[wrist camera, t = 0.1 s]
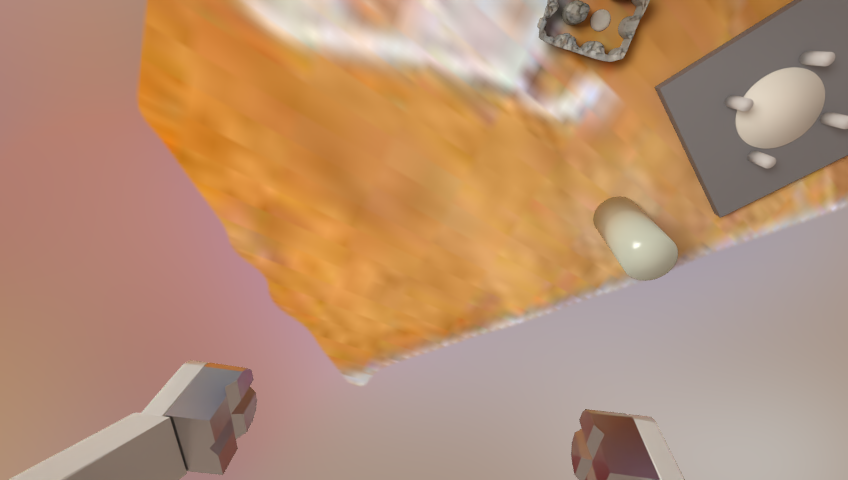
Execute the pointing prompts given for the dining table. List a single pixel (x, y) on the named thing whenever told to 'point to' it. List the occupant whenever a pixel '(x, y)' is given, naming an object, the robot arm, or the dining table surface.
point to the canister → (635, 239)
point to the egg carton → (599, 22)
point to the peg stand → (765, 104)
